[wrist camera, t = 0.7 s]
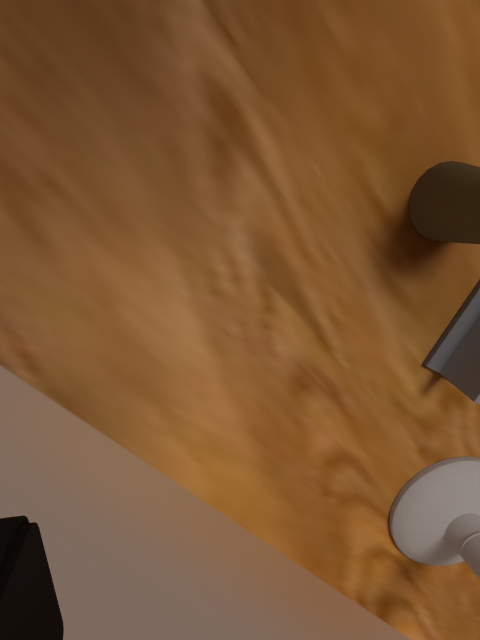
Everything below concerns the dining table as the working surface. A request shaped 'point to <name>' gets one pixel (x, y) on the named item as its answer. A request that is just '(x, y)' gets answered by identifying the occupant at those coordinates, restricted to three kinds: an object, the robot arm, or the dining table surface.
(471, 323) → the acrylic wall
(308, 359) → the dining table surface
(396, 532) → the candlestick
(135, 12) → the dining table surface
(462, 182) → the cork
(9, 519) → the robot arm
